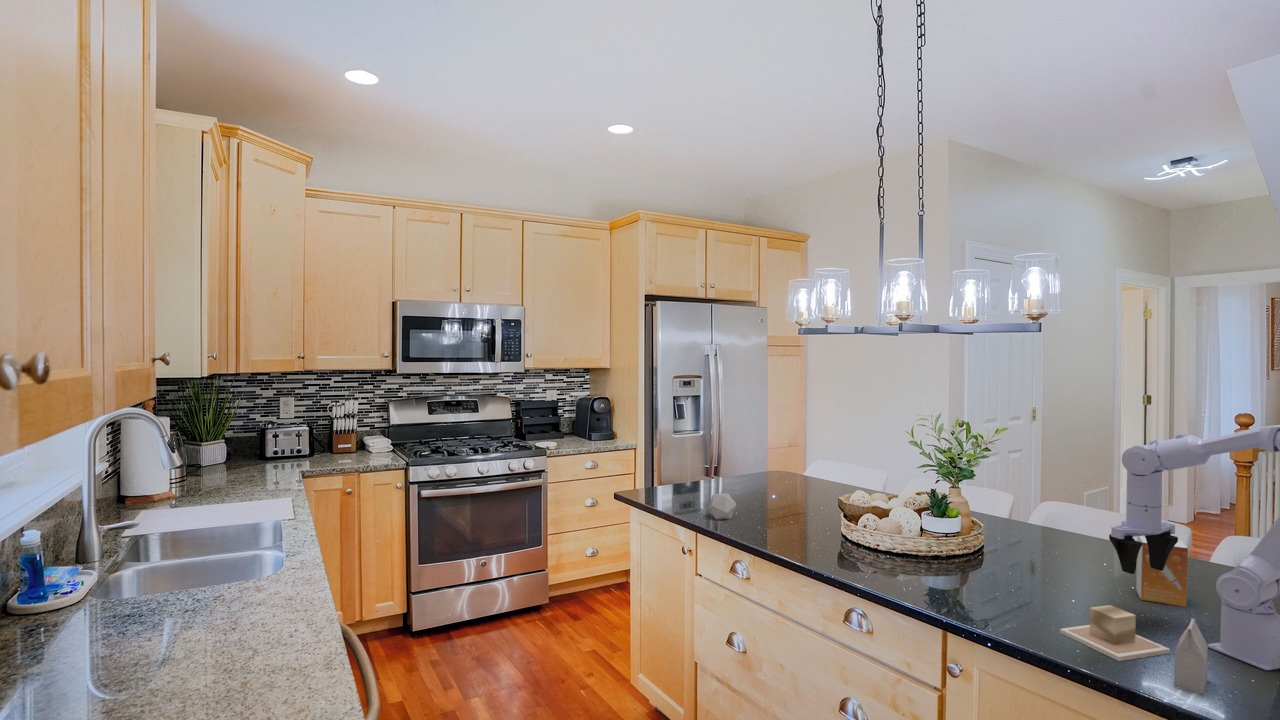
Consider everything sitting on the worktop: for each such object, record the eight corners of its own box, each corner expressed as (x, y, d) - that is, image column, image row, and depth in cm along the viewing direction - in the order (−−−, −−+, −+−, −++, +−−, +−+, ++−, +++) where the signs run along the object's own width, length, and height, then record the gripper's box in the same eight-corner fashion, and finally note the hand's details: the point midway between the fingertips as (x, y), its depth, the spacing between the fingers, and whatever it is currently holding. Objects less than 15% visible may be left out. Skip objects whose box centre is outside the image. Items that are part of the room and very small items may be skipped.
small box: (1140, 600, 145) (1141, 541, 144) (1135, 591, 150) (1136, 534, 150) (1187, 607, 141) (1188, 547, 140) (1180, 598, 146) (1182, 540, 146)
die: (731, 524, 208) (743, 497, 211) (708, 511, 208) (720, 484, 211) (723, 527, 215) (735, 501, 219) (700, 514, 215) (712, 488, 219)
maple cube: (1135, 641, 122) (1135, 615, 122) (1114, 644, 121) (1115, 618, 121) (1109, 630, 127) (1109, 605, 127) (1089, 633, 126) (1089, 607, 126)
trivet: (1169, 653, 120) (1170, 648, 120) (1119, 661, 116) (1119, 656, 116) (1107, 626, 131) (1107, 621, 131) (1059, 632, 128) (1059, 628, 128)
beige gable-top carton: (1207, 680, 110) (1208, 621, 110) (1203, 695, 105) (1204, 633, 105) (1178, 672, 113) (1179, 614, 112) (1174, 686, 108) (1175, 626, 108)
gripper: (1151, 497, 139) (1149, 561, 139) (1097, 501, 135) (1096, 567, 135) (1186, 505, 132) (1185, 572, 132) (1131, 510, 128) (1130, 579, 128)
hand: (1142, 570), depth 133 cm, fingers open, 7 cm apart
